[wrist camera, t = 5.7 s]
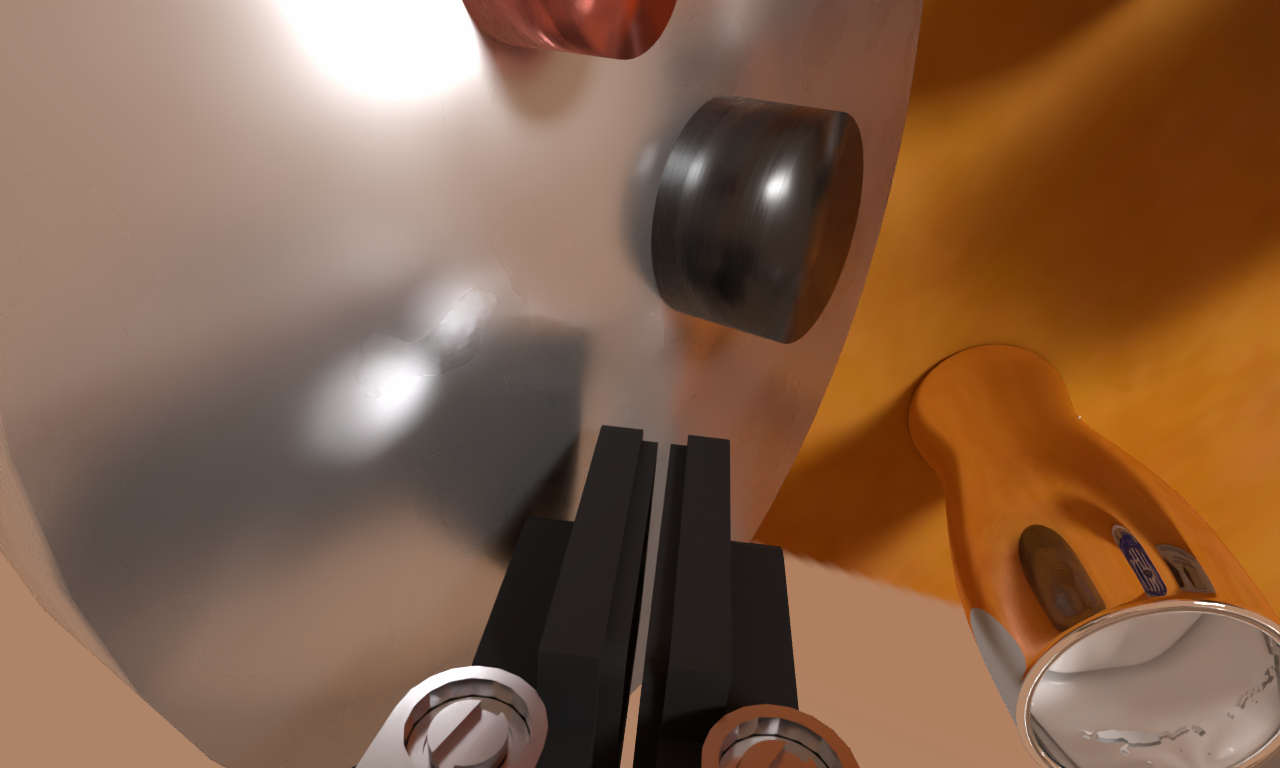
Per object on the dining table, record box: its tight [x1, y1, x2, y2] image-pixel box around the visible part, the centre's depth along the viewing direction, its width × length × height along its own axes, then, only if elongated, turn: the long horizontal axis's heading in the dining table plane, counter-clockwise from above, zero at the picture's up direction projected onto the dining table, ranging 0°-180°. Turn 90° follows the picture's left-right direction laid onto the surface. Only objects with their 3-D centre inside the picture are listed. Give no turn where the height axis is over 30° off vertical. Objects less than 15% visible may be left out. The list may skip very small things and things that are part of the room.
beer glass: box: [908, 344, 1280, 768], centre depth 26 cm, size 7×7×15 cm
